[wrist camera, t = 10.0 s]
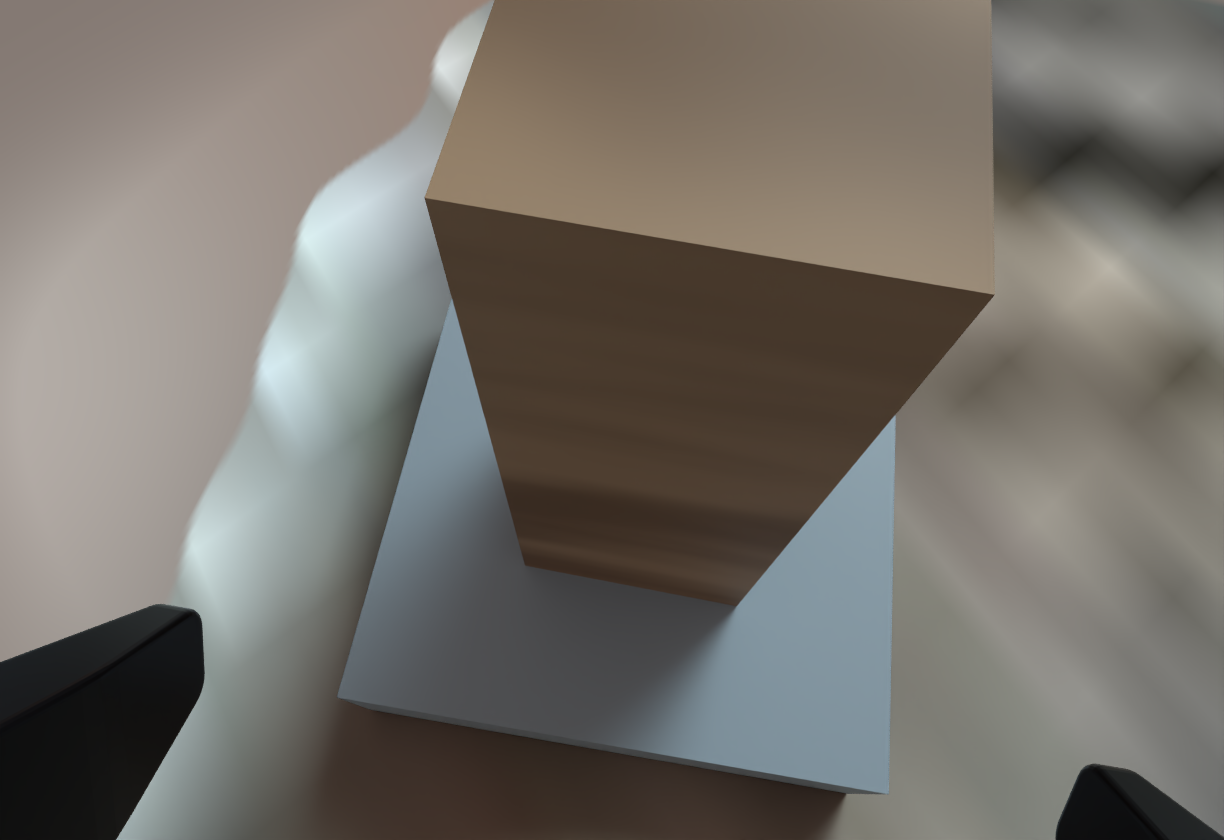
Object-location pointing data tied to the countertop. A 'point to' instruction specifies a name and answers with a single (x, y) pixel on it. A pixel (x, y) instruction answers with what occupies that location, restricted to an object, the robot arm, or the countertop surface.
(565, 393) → the walnut block
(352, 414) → the countertop surface
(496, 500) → the plinth
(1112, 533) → the countertop surface
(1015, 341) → the countertop surface
